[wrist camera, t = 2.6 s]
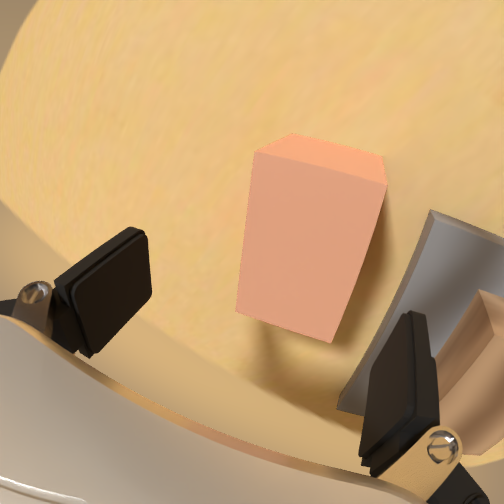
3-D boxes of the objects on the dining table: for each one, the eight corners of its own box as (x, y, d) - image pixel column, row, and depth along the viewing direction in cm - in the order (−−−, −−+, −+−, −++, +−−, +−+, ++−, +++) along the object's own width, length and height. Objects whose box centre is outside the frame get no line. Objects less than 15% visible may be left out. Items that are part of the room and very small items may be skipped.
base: (600, 288, 10) (628, 333, 6) (489, 425, 20) (491, 470, 15) (430, 209, 15) (450, 257, 10) (339, 396, 24) (325, 447, 20)
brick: (381, 155, 15) (387, 185, 10) (345, 277, 19) (330, 343, 14) (292, 133, 16) (254, 151, 11) (272, 255, 20) (235, 311, 15)
